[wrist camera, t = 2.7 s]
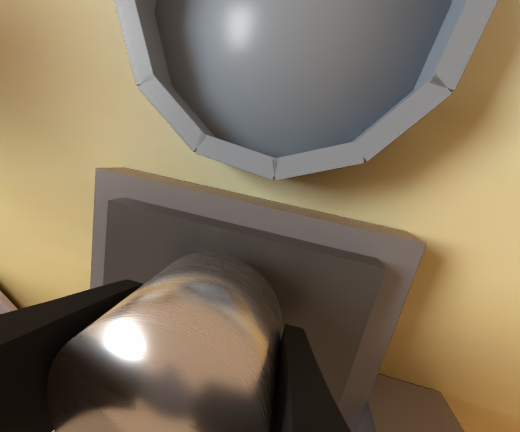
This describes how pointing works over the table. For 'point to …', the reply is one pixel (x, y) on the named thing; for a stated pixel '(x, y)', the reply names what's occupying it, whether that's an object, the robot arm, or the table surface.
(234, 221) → the scale
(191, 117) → the tray
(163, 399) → the tan glossy rounded piece
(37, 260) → the table surface
